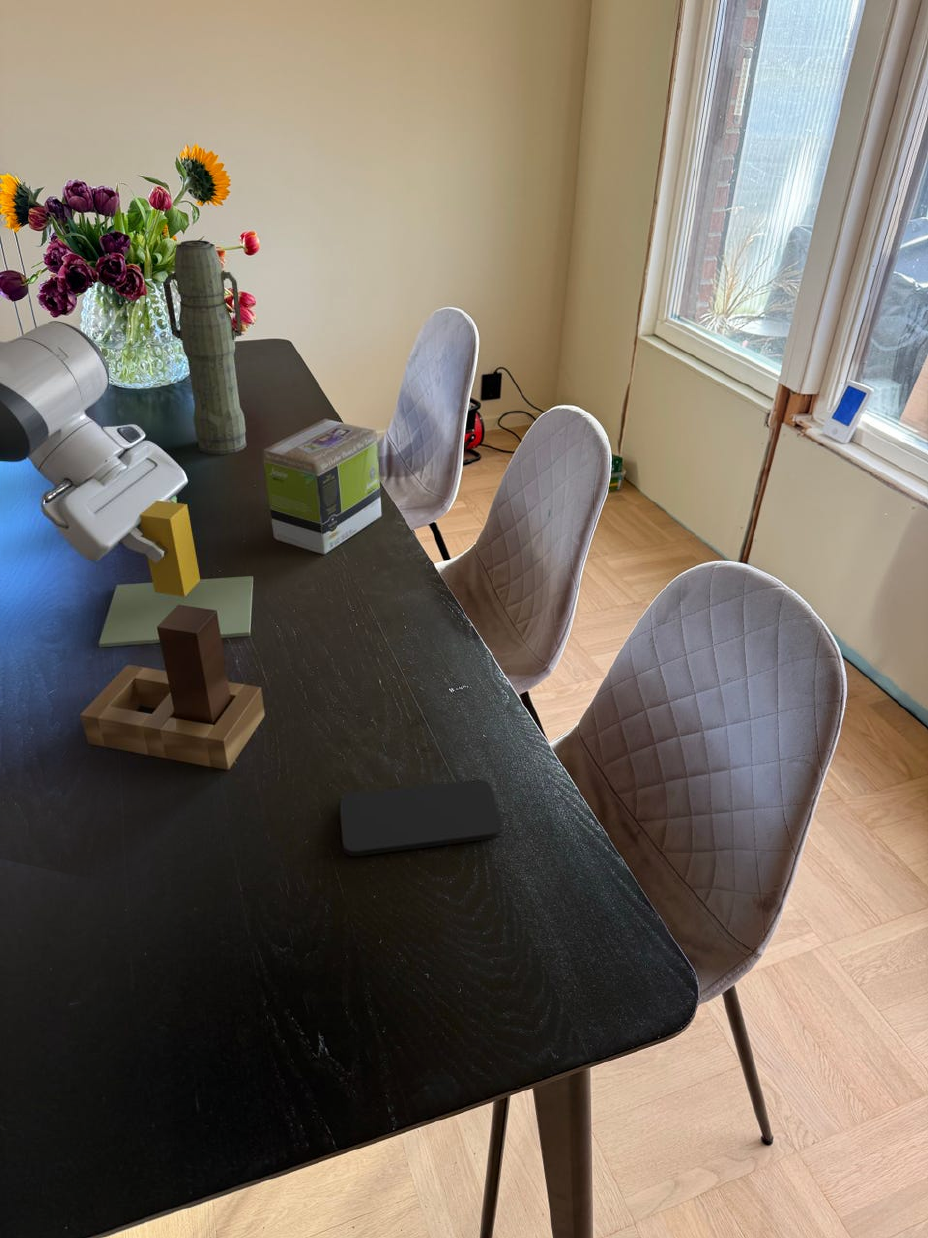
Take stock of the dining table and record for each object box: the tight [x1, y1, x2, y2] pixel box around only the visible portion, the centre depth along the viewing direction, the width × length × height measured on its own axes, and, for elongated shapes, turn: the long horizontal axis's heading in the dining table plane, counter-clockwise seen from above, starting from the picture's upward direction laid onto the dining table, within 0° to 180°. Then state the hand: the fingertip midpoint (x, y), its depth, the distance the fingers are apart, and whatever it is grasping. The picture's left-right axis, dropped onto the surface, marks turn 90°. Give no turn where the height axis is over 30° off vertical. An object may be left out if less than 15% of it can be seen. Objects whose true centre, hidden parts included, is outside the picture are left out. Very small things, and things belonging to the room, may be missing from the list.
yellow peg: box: [140, 500, 201, 597], centre depth 107 cm, size 4×4×11 cm
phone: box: [339, 779, 503, 857], centre depth 82 cm, size 7×1×15 cm
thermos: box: [162, 239, 247, 456], centre depth 149 cm, size 9×12×35 cm
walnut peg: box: [157, 605, 231, 725], centre depth 88 cm, size 4×4×15 cm
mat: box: [98, 575, 254, 648], centre depth 112 cm, size 18×14×1 cm
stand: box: [79, 664, 266, 771], centre depth 91 cm, size 16×9×4 cm, turn 77°
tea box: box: [262, 418, 382, 555], centre depth 128 cm, size 15×10×15 cm, turn 150°
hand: (174, 546), depth 107 cm, fingers closed on yellow peg, 4 cm apart
